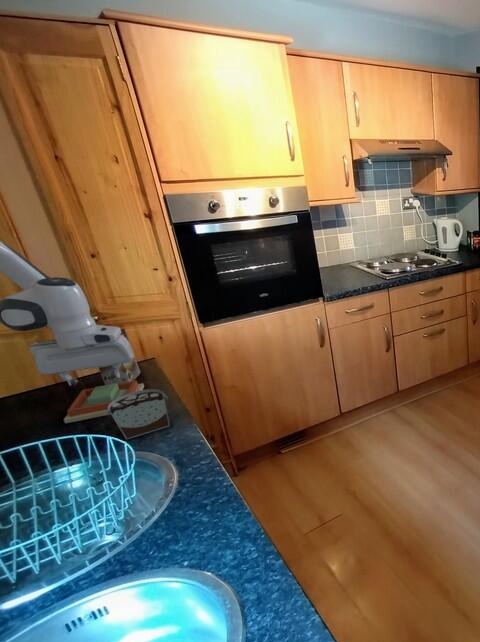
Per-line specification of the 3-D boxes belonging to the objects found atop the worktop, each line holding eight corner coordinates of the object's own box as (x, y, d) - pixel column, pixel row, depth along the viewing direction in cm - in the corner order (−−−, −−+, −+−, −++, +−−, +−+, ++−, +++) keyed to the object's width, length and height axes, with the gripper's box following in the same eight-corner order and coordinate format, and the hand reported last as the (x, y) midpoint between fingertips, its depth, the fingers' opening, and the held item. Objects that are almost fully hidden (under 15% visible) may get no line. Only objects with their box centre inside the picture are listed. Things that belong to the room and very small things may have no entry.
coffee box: (131, 385, 142) (113, 339, 135) (106, 389, 140) (86, 342, 133) (141, 372, 150) (124, 328, 143) (117, 375, 148) (100, 330, 141)
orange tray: (65, 423, 123) (60, 414, 122) (82, 397, 135) (79, 389, 134) (133, 409, 129) (129, 400, 128) (144, 386, 141) (141, 378, 140)
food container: (174, 414, 127) (163, 383, 123) (176, 424, 123) (165, 392, 119) (118, 430, 120) (104, 398, 116) (118, 441, 115) (104, 408, 111)
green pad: (91, 408, 127) (87, 399, 126) (99, 395, 134) (95, 386, 133) (113, 404, 129) (109, 395, 128) (120, 391, 136) (116, 383, 135)
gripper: (21, 347, 116) (42, 394, 121) (121, 334, 125) (136, 378, 130) (31, 338, 121) (51, 383, 127) (126, 326, 130) (141, 369, 135)
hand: (95, 381), depth 128 cm, fingers open, 8 cm apart
